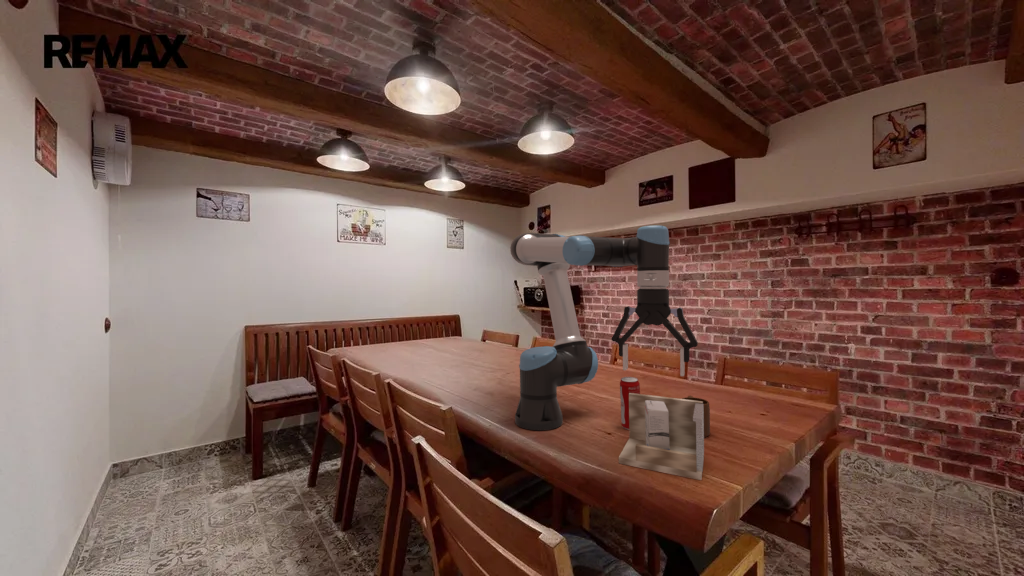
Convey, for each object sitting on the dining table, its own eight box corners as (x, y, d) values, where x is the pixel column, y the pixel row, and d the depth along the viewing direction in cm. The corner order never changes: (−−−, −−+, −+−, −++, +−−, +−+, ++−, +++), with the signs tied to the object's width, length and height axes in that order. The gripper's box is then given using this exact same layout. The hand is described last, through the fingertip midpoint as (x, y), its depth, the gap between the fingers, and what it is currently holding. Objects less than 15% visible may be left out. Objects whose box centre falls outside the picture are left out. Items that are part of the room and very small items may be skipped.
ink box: (670, 460, 90) (669, 411, 90) (648, 458, 91) (647, 409, 91) (665, 445, 98) (664, 400, 98) (645, 444, 99) (644, 399, 99)
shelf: (618, 463, 92) (618, 407, 92) (630, 441, 105) (629, 392, 105) (701, 480, 84) (700, 419, 83) (703, 454, 96) (702, 401, 96)
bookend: (693, 470, 85) (692, 417, 85) (696, 449, 96) (695, 402, 96) (702, 471, 84) (701, 418, 84) (704, 451, 95) (703, 403, 95)
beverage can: (642, 425, 117) (641, 376, 117) (639, 432, 111) (639, 381, 111) (622, 422, 119) (621, 375, 119) (619, 429, 113) (618, 379, 113)
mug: (676, 422, 119) (676, 392, 119) (702, 424, 117) (702, 393, 117) (683, 436, 108) (683, 403, 108) (713, 439, 106) (712, 405, 106)
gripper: (599, 288, 98) (600, 369, 98) (708, 288, 86) (708, 381, 86) (607, 287, 105) (607, 364, 105) (709, 287, 93) (708, 374, 93)
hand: (652, 372), depth 96 cm, fingers open, 13 cm apart
